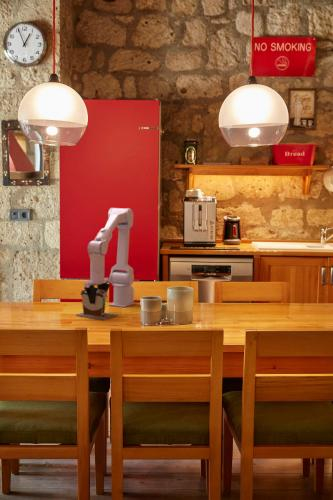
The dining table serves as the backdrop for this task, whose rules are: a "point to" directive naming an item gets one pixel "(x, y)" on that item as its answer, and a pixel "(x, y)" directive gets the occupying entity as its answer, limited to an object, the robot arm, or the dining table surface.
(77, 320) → the dining table surface
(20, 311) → the dining table surface
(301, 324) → the dining table surface
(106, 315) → the mat
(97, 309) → the food container
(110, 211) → the robot arm
